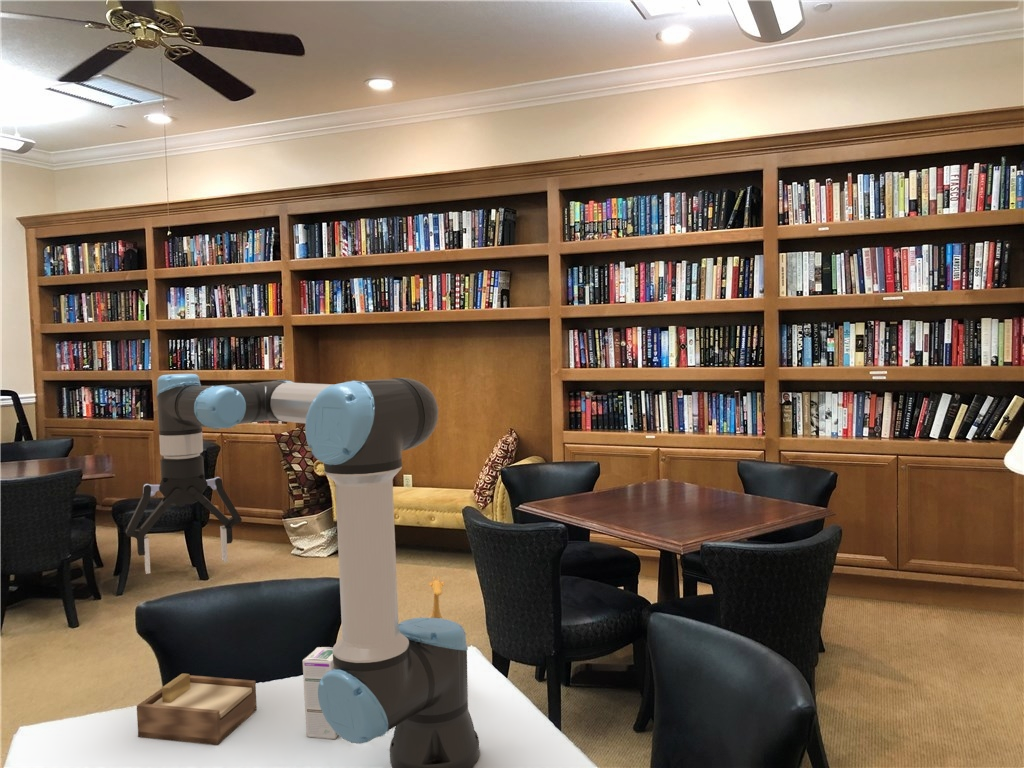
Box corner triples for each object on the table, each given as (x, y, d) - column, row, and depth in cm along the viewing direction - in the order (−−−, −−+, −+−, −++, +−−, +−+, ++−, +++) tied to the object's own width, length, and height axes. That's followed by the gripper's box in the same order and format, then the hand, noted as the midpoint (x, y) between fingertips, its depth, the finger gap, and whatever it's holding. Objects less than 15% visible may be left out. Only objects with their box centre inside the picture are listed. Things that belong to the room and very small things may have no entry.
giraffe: (452, 709, 149) (449, 581, 147) (429, 712, 148) (426, 583, 146) (444, 673, 165) (441, 557, 163) (423, 675, 164) (420, 558, 162)
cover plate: (148, 711, 141) (147, 692, 141) (183, 686, 152) (182, 668, 151) (220, 718, 138) (219, 698, 138) (252, 691, 148) (251, 673, 148)
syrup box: (335, 740, 138) (332, 660, 137) (304, 737, 139) (301, 658, 138) (348, 724, 144) (346, 647, 143) (319, 721, 145) (316, 645, 144)
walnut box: (138, 736, 141) (136, 705, 140) (183, 703, 153) (181, 674, 153) (217, 745, 137) (216, 713, 137) (256, 709, 150) (255, 680, 150)
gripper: (247, 447, 156) (251, 551, 158) (107, 459, 144) (113, 571, 146) (253, 452, 150) (258, 560, 151) (108, 464, 138) (114, 582, 139)
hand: (187, 566), depth 148 cm, fingers open, 13 cm apart
